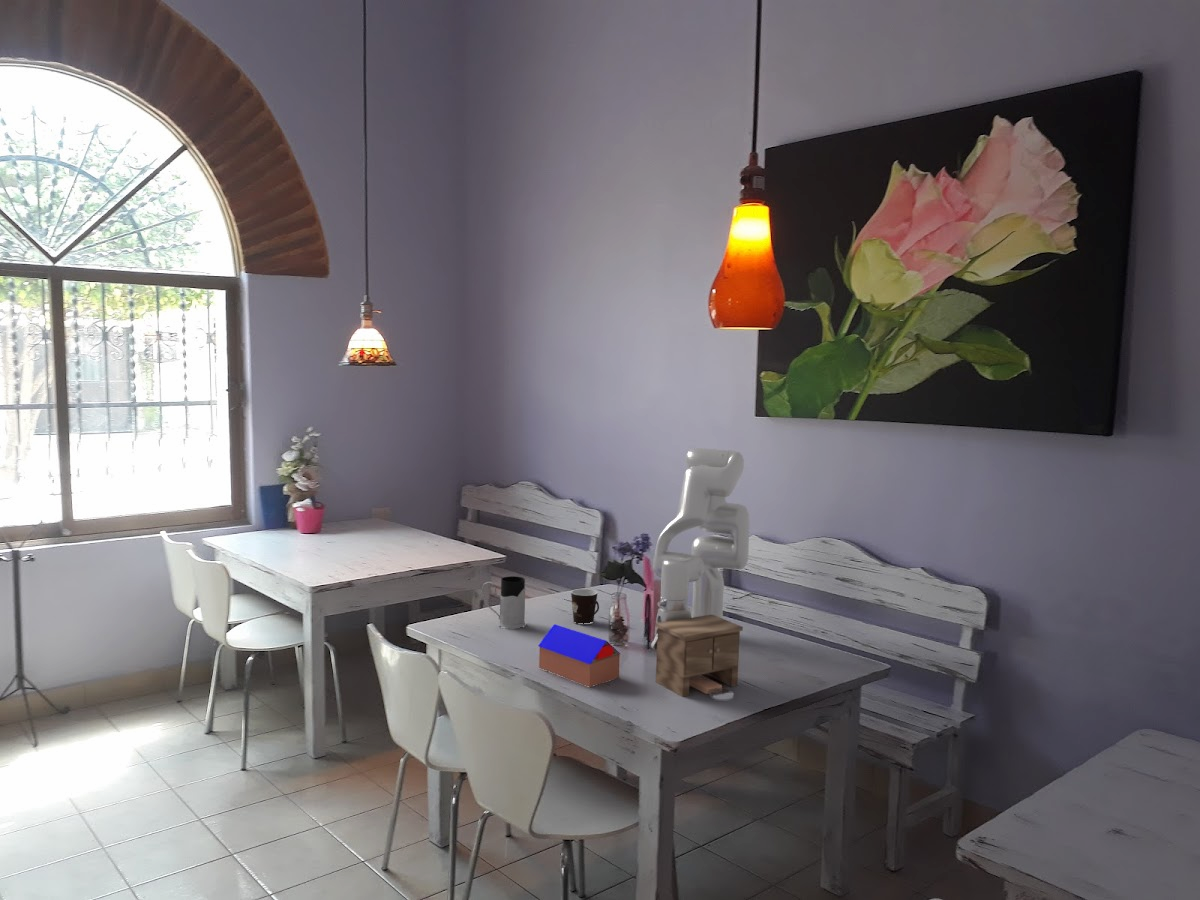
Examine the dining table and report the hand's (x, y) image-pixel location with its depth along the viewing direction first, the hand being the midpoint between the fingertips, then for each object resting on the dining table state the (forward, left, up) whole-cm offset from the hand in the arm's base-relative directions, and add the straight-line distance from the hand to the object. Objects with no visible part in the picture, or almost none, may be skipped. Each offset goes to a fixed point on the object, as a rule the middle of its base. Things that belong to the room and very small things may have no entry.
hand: (671, 667), depth 250 cm
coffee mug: (-50, +1, -1) cm, 50 cm away
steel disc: (+22, 0, -1) cm, 22 cm away
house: (-10, -24, -1) cm, 26 cm away
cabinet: (+11, 0, -1) cm, 11 cm away
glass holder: (-60, -23, -1) cm, 64 cm away
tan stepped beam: (+8, 0, -1) cm, 8 cm away
